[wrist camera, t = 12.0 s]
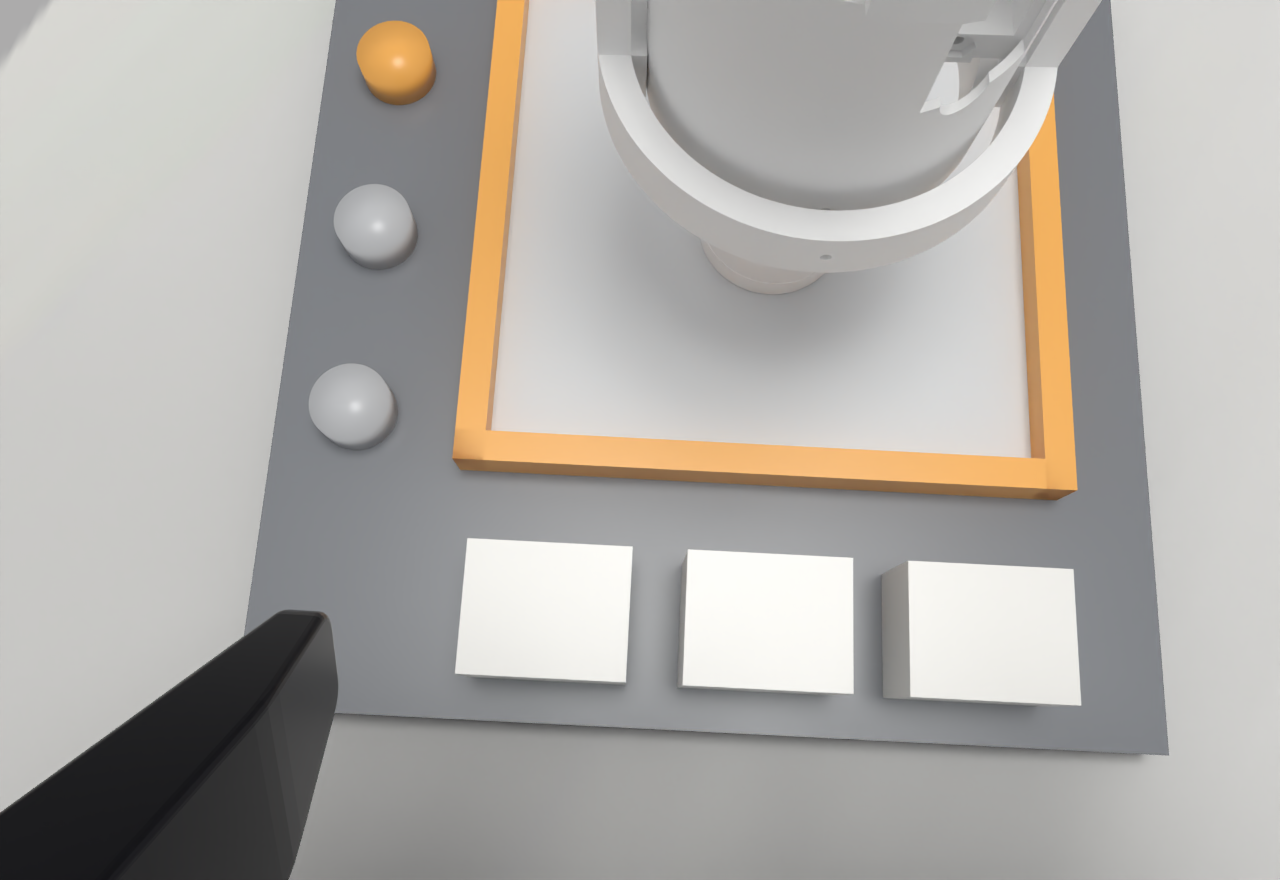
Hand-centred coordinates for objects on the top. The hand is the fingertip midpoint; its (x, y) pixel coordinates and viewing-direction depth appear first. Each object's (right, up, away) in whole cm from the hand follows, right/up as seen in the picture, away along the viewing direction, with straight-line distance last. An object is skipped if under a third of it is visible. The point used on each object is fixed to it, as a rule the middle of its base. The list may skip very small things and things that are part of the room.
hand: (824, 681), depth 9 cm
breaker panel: (0, +5, +14) cm, 15 cm away
